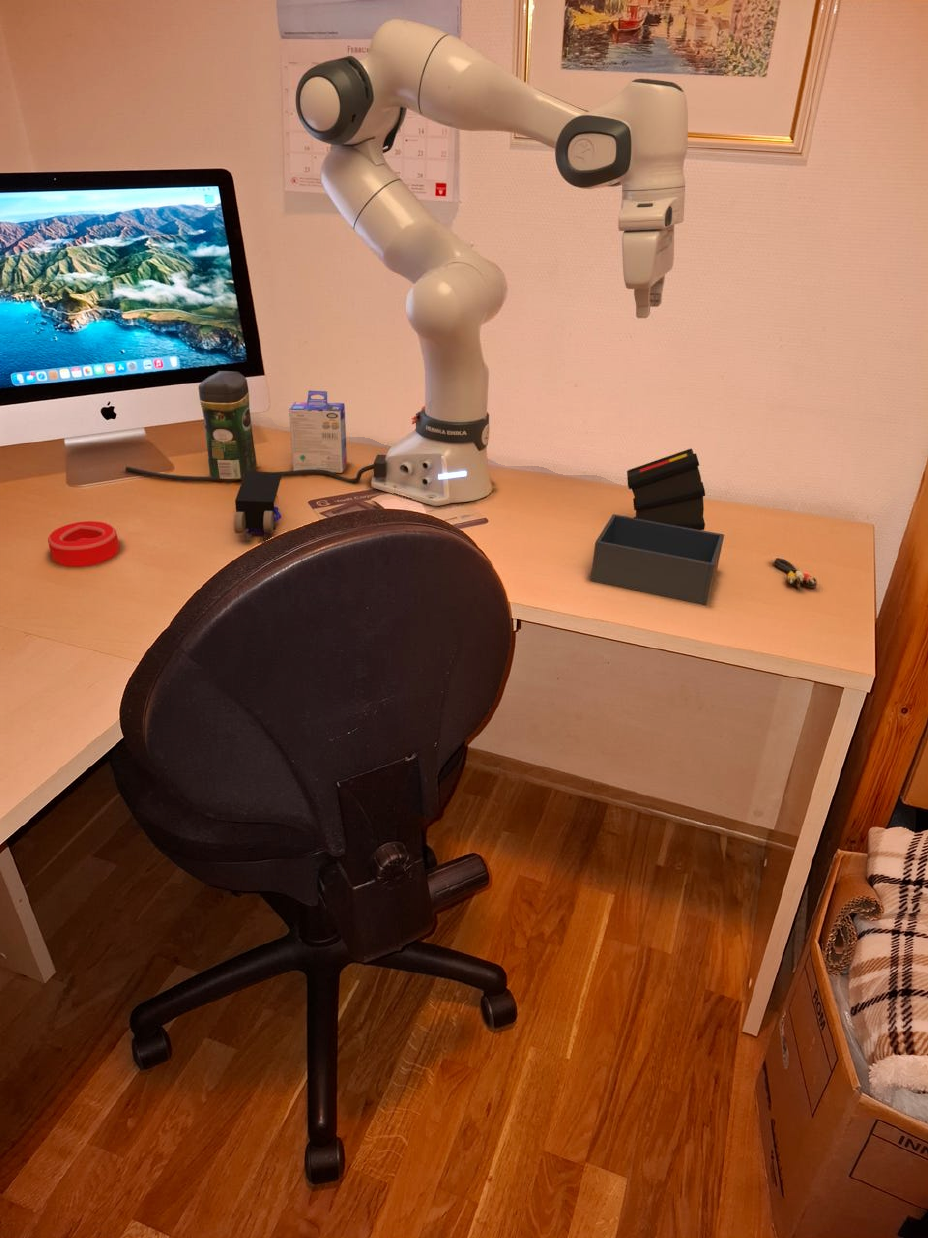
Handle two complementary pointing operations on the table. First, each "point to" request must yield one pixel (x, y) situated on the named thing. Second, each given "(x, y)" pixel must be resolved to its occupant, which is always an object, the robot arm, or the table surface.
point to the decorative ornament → (83, 543)
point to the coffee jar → (227, 425)
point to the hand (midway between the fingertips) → (649, 311)
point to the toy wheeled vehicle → (257, 504)
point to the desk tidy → (657, 558)
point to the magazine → (669, 491)
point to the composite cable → (795, 574)
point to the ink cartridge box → (318, 434)
